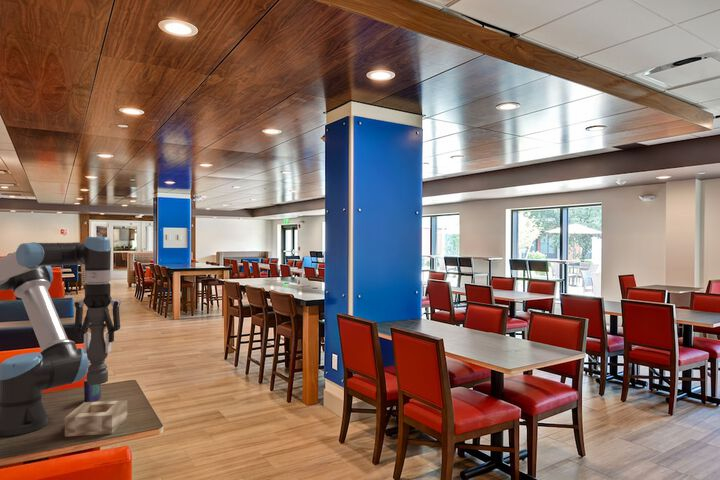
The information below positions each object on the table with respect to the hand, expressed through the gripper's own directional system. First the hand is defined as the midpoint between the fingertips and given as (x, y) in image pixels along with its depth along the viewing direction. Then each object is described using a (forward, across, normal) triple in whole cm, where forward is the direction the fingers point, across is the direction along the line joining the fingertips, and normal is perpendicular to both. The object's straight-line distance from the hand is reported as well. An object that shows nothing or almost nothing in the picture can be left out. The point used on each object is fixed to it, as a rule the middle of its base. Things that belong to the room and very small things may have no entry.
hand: (97, 352), depth 155 cm
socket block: (+25, 0, 0) cm, 25 cm away
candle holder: (+10, 0, 0) cm, 10 cm away
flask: (+25, -12, +27) cm, 39 cm away
